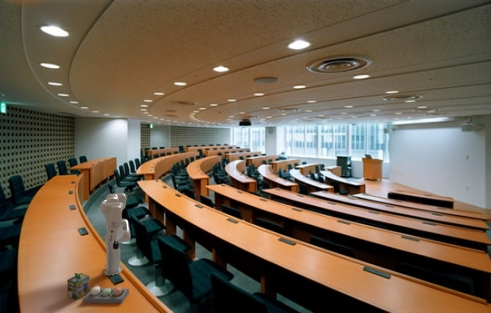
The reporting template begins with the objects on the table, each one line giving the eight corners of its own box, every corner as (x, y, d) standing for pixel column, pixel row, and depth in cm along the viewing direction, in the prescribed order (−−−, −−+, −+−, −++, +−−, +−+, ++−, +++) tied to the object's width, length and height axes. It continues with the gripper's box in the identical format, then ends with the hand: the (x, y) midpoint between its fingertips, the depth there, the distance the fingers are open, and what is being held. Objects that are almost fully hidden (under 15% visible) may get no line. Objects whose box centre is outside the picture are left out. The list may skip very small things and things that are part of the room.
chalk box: (90, 292, 161) (90, 271, 160) (76, 300, 152) (75, 278, 151) (81, 288, 164) (81, 267, 163) (67, 296, 156) (66, 274, 155)
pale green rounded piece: (101, 298, 153) (100, 292, 153) (105, 293, 158) (105, 288, 158) (108, 298, 154) (108, 292, 153) (112, 293, 158) (112, 288, 158)
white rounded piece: (89, 296, 153) (89, 290, 153) (94, 291, 158) (94, 286, 157) (97, 296, 153) (97, 290, 153) (101, 291, 158) (101, 286, 158)
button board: (83, 302, 150) (83, 298, 150) (92, 292, 160) (92, 288, 160) (121, 303, 151) (121, 298, 151) (128, 293, 161) (128, 288, 161)
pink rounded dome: (112, 296, 154) (112, 291, 153) (115, 292, 158) (115, 286, 158) (119, 297, 154) (119, 291, 153) (123, 292, 158) (123, 286, 158)
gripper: (115, 227, 158) (115, 254, 159) (126, 219, 173) (126, 244, 174) (104, 227, 158) (104, 253, 159) (115, 219, 173) (115, 243, 174)
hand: (115, 248), depth 167 cm, fingers closed
